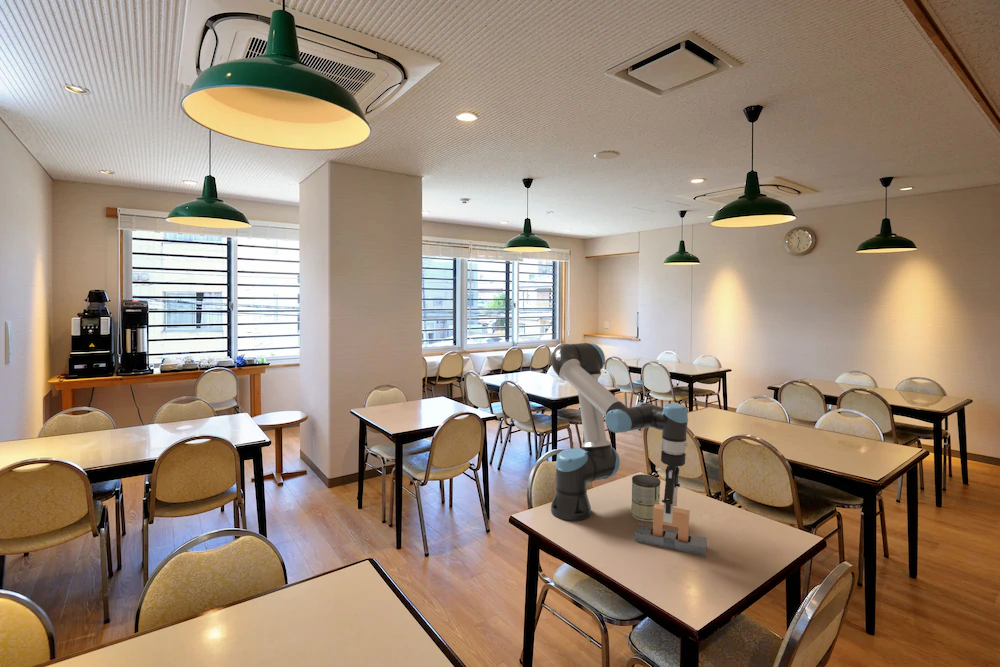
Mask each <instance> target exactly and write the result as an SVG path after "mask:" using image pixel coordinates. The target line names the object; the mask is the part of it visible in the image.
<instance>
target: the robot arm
mask: <svg viewBox="0 0 1000 667" xmlns="http://www.w3.org/2000/svg"><path fill="white" fill-rule="evenodd" d="M605 365H606V356H605V353H604V351H603V349H602V348H601V347H600V346H599V345H597V344H596V343H591V342H581V343H565V344H561V345H559V346H558V347H557V348H556V349H555V350H554V351H553V352H552V356H551V367H552V369H553V371H554V372H555V373H554V374H556V375H557V376H558V377H559V378H560V379H561V380H562V381H567V382H568V383H569V384H570V385H571V386H572V387H573V388H574V389H575V390H577V393H578V401H579V402H578V403H579V409H580V415H581V425H582V430H583V431H582V432H583V440H584V442H583V443H582V444H581V448H577V447H574V448H572V447H570V448H567V449H563V450H561V451H560V452H559V453H558V454H557V456H556V462H555V470H556V471H555V472H556V474H555V475H556V476H555V477H556V478H555V493H554V496H553V498H552V501H551V504H550V512H551V514H552V515H553V516H555V517H557V518H558V519H561V520H563V521H564V520H565V521H576V522H577V521H583V520H586V519H588V518H589V517H590V516H591V515H592V507H591V504H590V501H589V496H588V493H587V492H588V489H587V488H588V487H587V486H588V484H589V483H592V482H596V481H600V480H606V479H608V478H611V477H614V475H616V474H617V473H618V471H619V470H620V469H619V468H620V465H621V464H620V463H621V461H620V456H619V453H618V452H617V450H616V449H615V448H614V447H612V444H611V442H610V441H609V440H608V439H607V435H606V428H605V427H606V426H607V429H608V431H610V432H612V433H614V434H615V433H616V434H618V433H619V434H620V433H626V432H630V431H631V432H632V431H635V430H636V431H637V430H642V429H647V428H653V429H656V430H659V431H662V432H661V435H662V436H661V452H660V453H661V454H660V461H661V463H662V464H665V465H667V466H666V468H665V478H664V479H665V485H664V495H663V499H661V503H663V505H664V515H663V522H668V523H672V518H673V507H675V508H678V507H677V506H678V505H677V504H678V488H680V486H681V483H679V482H680V481H679V475H680V468H679V467H683V466H685V464H686V456H687V455H686V448H687V447H688V446H689V444H688V443H687V434H688V433H687V431H688V430H687V429H688V421H689V418H688V417H689V416H688V414H689V413H688V408H687V407H686V405H683V404H681V403H680V404H679V403H666V404H664V406H660V405H659V406H658V405H656V404H655V405H654V404H652V403H649V402H637V403H636V404H635V405H634V406H631V407H628V406H626V404H625V403H623V402H622V401H621V400H619V398H618V397H617V396H615V395H614V394H613V393H612V392H611V391H609V389H607V388H606V387H605V386H604V385H603V384H602V383H600V381H599V378H600V377H601V375H602V372H601V371H602V369H603V368H604V367H605ZM604 417H605V419H604ZM605 424H606V426H605Z"/></svg>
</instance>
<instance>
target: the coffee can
mask: <svg viewBox="0 0 1000 667" xmlns="http://www.w3.org/2000/svg"><path fill="white" fill-rule="evenodd" d="M631 482H632V483H631V514H630V515H631V516H632V518H634V519H636V520H638V521H641V522H648V523H649V522H650V523H651V522H652V523H653V508H654V505H655V504H659V505H661V504H660V503H661V501H660V498H661V497H660V495H661V479H660V478H659V477H656V476H653V475H650V474H636V475H633V476H632V477H631Z"/></svg>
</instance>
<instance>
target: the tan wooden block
mask: <svg viewBox="0 0 1000 667" xmlns="http://www.w3.org/2000/svg"><path fill="white" fill-rule="evenodd" d="M663 515H664V504H655V505H654V508H653V521H652V527H653V535H657V536H662V537H663V529H664V526H670V527H675V528H678V530H677V532H678V540H680V541H685V542H688V538H689V533H690V532H689V531H690V510H689V509H686V508H685V509H684V508H679V507H676V506H673V518H672V523H668V522H663Z"/></svg>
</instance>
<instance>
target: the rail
mask: <svg viewBox="0 0 1000 667" xmlns="http://www.w3.org/2000/svg"><path fill="white" fill-rule="evenodd" d="M634 542H637V543H643V544H647V545H651V546H655V547H661V548H665V549H668V550H673V551H678V552H682V553H687V554H691V555H695V556H699V557H703V558H704V557H705V558H706V557H707V556H706V554H707V545H708V544H707V543H708V538H707V537H704V536H698V535H693V534H689V538H688V542H685V541H680V540H678V531H675V530H670V529H666V528H665V529H664V528H663V537H662V536H657V535H653V526H651V525H645V524H642V523H638V525H637V527H636V529H635V532H634Z"/></svg>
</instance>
